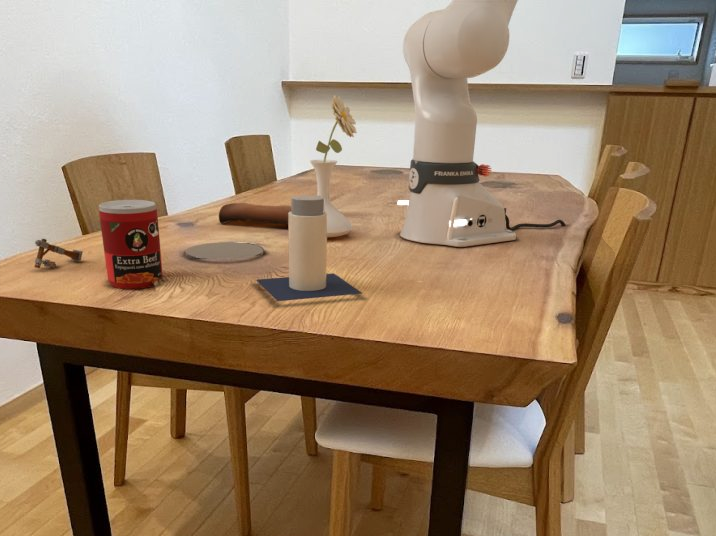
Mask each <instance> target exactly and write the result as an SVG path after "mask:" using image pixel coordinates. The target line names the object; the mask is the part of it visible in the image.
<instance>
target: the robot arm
mask: <svg viewBox="0 0 716 536" xmlns="http://www.w3.org/2000/svg"><path fill="white" fill-rule="evenodd" d="M518 1H519V0H451V2H450V3H449V5H447V6H446V7H445V8H443V9H439V10H434V11H429V12H427V13H425V14H424V15H422V16H420V17H419V18H417V20H416V21H414V22H413V23H412V24H411V25H410V26H409V28H408V30H406V33H405V35H404V37H403V42H402V54H403V58H404V60H405V63H406V65H407V66H408V67H407V68H408V69H409V74H410V81H411V89H412V96H413V103H414V135H413V154H412V159H411V160H410V166H409V176H408V189H409V194H408V195H409V196H408V200H407V199H406V200H405V199H404V200H397V205H398V206H406V205H407V206H406V212H405V217H404V220H403V224H402V226H401V229H400V232H399V237H401V238H402V239H405V240H408V241H411V242H415V243H423V244H431V245H443V246H449V247H457V248H464V247H472V246H480V245H487V244H494V243H503V242H509V241H510V242H511V241H516V239H517V234H516V233H515V230H517V229H519V228H539V229H540V228H543V229H544V228H545V229H546V228H547V229H548V228H552V227H555V226H557V225H558V224H560V225H561V226H562V227H566V226H567V225H566V223H565V222H564V220H563V219H556V220H555V221H553V222H551V223H518V224H517V223H516V224H515V225H514V226H512V227H511V226H510V218H509V216H508V214H506V213H507V208H506V207H504V205H503V204H502V202H500V201H499V200H498V199H497V198H496V196H494V195H493V194H492V193H490V191H488V190H487V189H486V187H484V186H483V184H481V182H480V176H483V177H489V176H490V174H492V167H491V165H489V164H482V163H481V164H480V165H479V164H477V163H476V162H475V161H474V155H475V146H476V145H475V144H476V134H477V124H478V116H477V111H476V110H475V109H474V107H473V105H472V102H471V97H470V92H469V84H468V83H469V82H468V79H470V78H471V79H472V78H476V77H478V76H480V75H483V74H485V73H487V72H489V71H491V70H492V69H494V68H496V67H497V66H498V65H499V64H500V63H501V62H502V60H503V59H504V58H505V56H506V55H507V51H508V48H509V45H510V27H509V25H510V22H511V19H512V16H513V13H514V10H515V9H516V5H517V3H518Z"/></svg>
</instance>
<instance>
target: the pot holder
mask: <svg viewBox="0 0 716 536" xmlns="http://www.w3.org/2000/svg"><path fill="white" fill-rule="evenodd" d="M255 281H256V283H258V284H259V285H260V286H261V287H262V288H264V290H265V291H267V293H269V295H271V297H272V298H274V300H275V301H276V302H283V301H284V302H285V301H295V300H297V301H298V300H306V299H308V300H309V299H316V298H317V299H318V298H328V297H340V296H350V295H351V296H352V295H361V294H363V292H362V291H361V290H359V289H358V288H357V287H355V286H353V285H352V284H351V283H349V282H347V281H346V280H344V279H343V278H342V277H340V276H339V275H337V274H335V273H334V272H333V273H327V277H326V288H324V289H321V290H317V291H299V290H295V289H292V288H290V287H289V276H283V277H271V278H258V279H255Z"/></svg>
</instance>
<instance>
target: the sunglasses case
mask: <svg viewBox="0 0 716 536" xmlns="http://www.w3.org/2000/svg"><path fill="white" fill-rule="evenodd" d="M289 212H291V205H287V204H286V205H285V204H283V205H264V204H263V205H262V204H252V203H247V202H232V203H227V204H224V205H222V207H220V210H219V211H218V220H219V221H218V222H219V223H220V224H224V223H227V222H238V221H241V222H244V221H245V222H246V221H250V222H257V223H258V222H259V223H271V224H282V225H288V213H289Z"/></svg>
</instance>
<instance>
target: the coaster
mask: <svg viewBox="0 0 716 536" xmlns="http://www.w3.org/2000/svg"><path fill="white" fill-rule="evenodd" d="M263 255H264V249H263V247H261V246H258V245H255V244H251V243H244V242H231V241H230V242H228V241H227V242H225V241H224V242H221V241H219V242H209V243H208V242H207V243H201V244H196V245H193V246H190V247H188V248H187V249H186V250H185V257H186V258H188V259H189V260H193V261H198V260H213V259H228V258H244V257H257V256H259V257H260V256H263Z"/></svg>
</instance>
